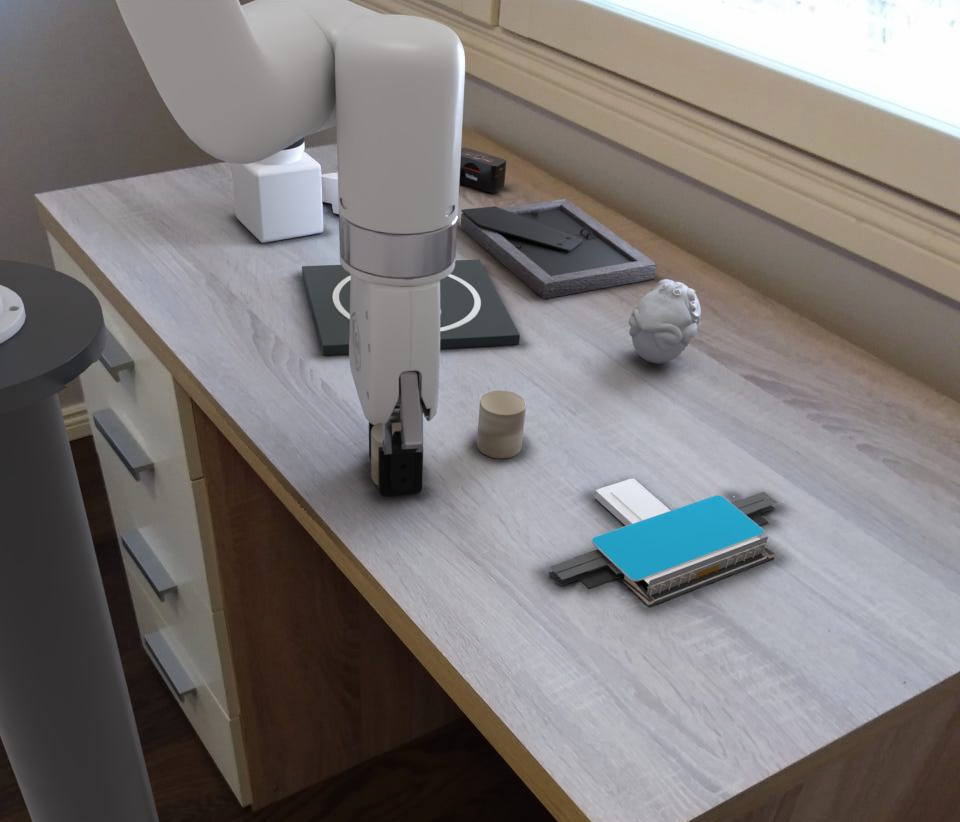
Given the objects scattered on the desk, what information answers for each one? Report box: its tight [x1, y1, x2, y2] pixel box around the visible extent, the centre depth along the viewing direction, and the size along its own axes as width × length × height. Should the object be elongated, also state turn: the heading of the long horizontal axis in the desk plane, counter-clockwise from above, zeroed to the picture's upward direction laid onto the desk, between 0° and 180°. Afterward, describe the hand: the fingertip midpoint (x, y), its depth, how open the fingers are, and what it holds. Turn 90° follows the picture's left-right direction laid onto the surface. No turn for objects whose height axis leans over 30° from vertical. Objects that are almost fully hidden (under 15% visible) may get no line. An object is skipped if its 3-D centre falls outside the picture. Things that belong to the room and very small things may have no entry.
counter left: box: [370, 422, 401, 486], centre depth 79 cm, size 4×4×4 cm
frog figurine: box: [628, 278, 702, 364], centre depth 94 cm, size 6×7×7 cm
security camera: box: [230, 137, 324, 244], centre depth 108 cm, size 7×7×12 cm
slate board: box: [301, 258, 521, 356], centre depth 100 cm, size 18×16×1 cm
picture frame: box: [460, 198, 658, 300], centre depth 111 cm, size 13×2×18 cm
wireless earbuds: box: [459, 147, 507, 194], centre depth 123 cm, size 5×7×3 cm, turn 57°
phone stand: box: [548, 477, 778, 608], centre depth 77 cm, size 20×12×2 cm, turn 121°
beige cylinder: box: [476, 390, 527, 459], centre depth 83 cm, size 4×4×4 cm
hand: (394, 473), depth 80 cm, fingers closed on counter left, 3 cm apart
